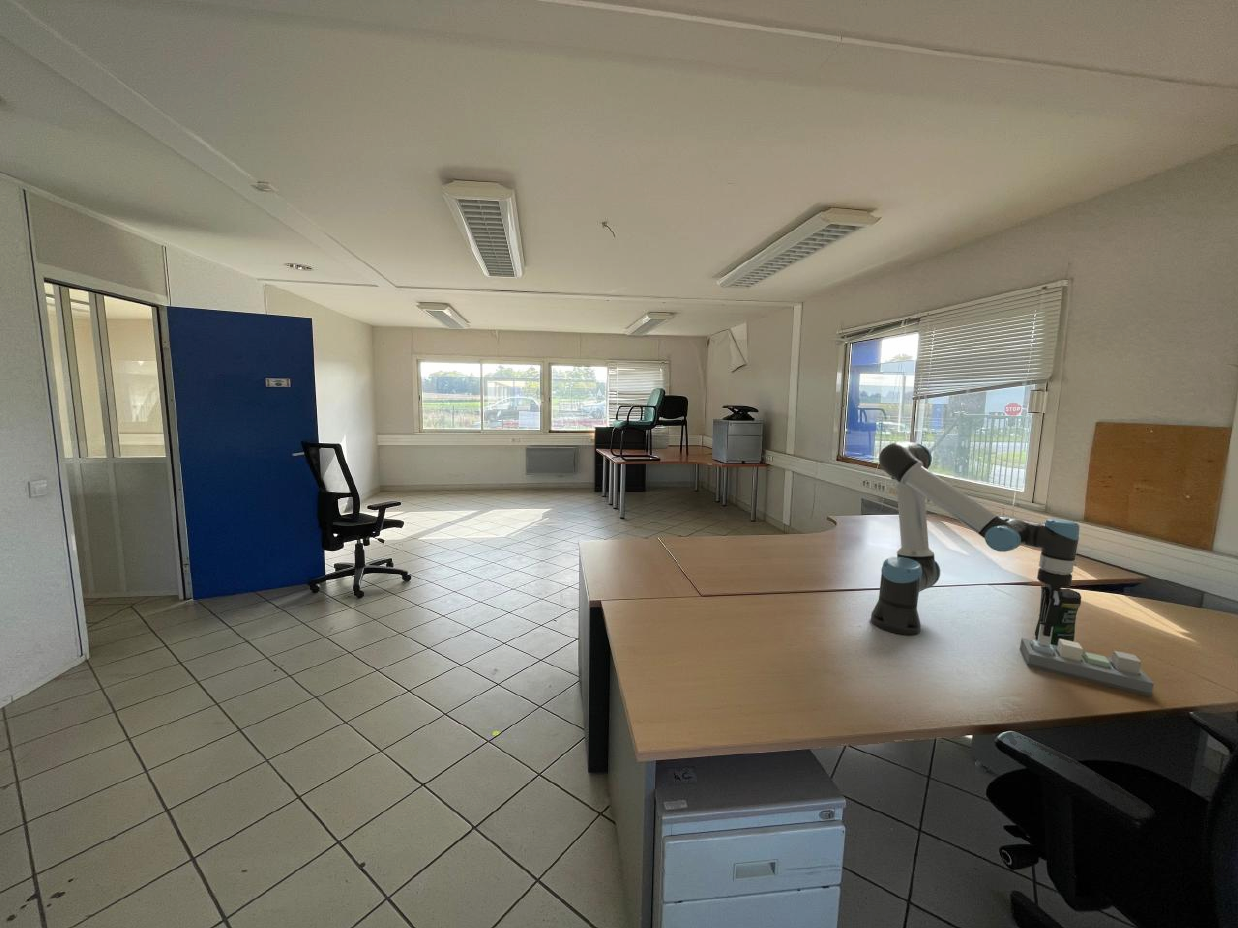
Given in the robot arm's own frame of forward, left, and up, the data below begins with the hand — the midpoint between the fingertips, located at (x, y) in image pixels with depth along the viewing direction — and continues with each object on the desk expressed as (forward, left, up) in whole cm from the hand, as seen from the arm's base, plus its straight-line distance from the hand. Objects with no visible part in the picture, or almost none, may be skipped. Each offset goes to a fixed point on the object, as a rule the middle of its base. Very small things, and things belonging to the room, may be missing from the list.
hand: (1043, 644), depth 144 cm
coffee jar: (+7, +20, -6) cm, 22 cm away
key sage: (+12, 0, -4) cm, 13 cm away
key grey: (+18, 0, -2) cm, 18 cm away
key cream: (+6, 0, -2) cm, 6 cm away
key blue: (0, 0, -4) cm, 4 cm away
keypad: (+9, 0, -6) cm, 11 cm away
